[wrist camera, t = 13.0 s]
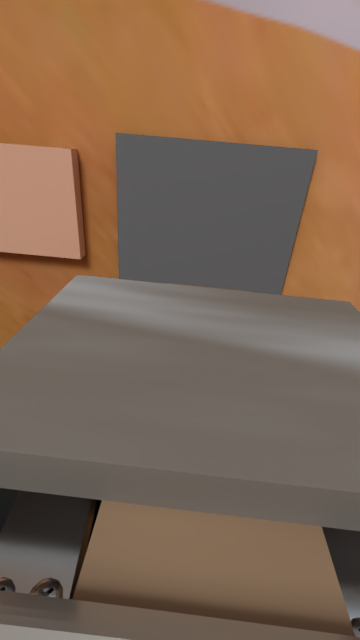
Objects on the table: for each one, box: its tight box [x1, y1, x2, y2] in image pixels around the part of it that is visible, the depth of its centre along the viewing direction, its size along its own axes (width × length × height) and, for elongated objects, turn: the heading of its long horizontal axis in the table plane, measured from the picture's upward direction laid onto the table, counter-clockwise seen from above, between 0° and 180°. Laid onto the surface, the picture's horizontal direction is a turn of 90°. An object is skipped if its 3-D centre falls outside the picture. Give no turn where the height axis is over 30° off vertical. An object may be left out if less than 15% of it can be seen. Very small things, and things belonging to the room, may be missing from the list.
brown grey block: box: [0, 275, 360, 636], centre depth 8 cm, size 5×8×10 cm, turn 86°
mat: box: [116, 133, 318, 295], centre depth 25 cm, size 14×14×1 cm
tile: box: [0, 143, 86, 259], centre depth 25 cm, size 2×10×8 cm
